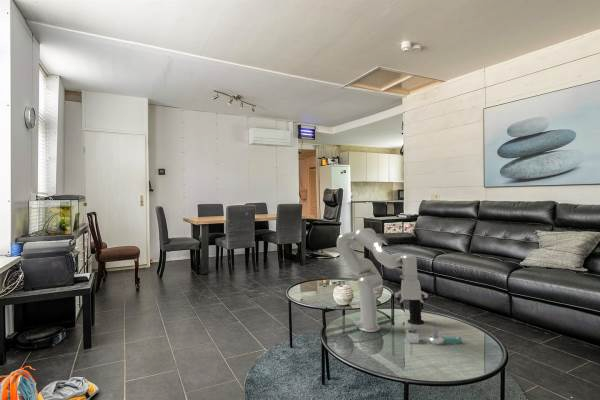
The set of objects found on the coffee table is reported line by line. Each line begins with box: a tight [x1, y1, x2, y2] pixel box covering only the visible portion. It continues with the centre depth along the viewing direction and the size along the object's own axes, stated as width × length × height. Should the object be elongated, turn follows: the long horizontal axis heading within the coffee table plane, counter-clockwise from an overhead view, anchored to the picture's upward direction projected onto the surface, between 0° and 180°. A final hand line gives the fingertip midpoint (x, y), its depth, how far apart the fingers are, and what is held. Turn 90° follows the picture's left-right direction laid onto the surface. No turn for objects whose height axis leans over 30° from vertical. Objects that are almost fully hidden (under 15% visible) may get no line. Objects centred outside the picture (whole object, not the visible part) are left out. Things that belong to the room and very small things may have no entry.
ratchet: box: [427, 327, 463, 346], centre depth 172 cm, size 16×8×7 cm, turn 77°
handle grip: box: [407, 300, 425, 326], centre depth 204 cm, size 10×26×10 cm
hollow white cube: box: [405, 328, 420, 344], centre depth 176 cm, size 6×6×5 cm
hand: (411, 309), depth 176 cm, fingers open, 9 cm apart
